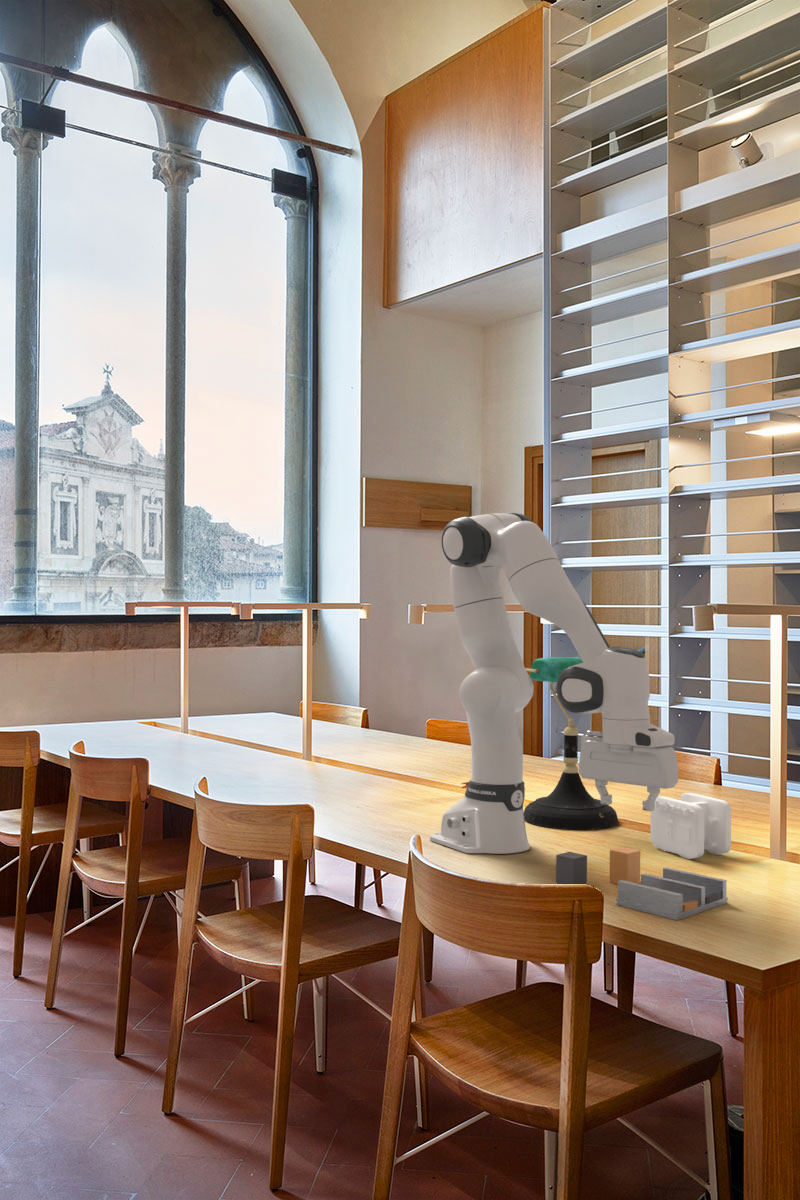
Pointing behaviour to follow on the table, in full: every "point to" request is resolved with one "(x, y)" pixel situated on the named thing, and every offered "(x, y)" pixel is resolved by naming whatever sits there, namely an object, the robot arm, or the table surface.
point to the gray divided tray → (673, 894)
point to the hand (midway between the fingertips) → (627, 807)
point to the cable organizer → (691, 825)
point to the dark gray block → (571, 868)
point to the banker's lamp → (566, 772)
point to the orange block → (624, 865)
